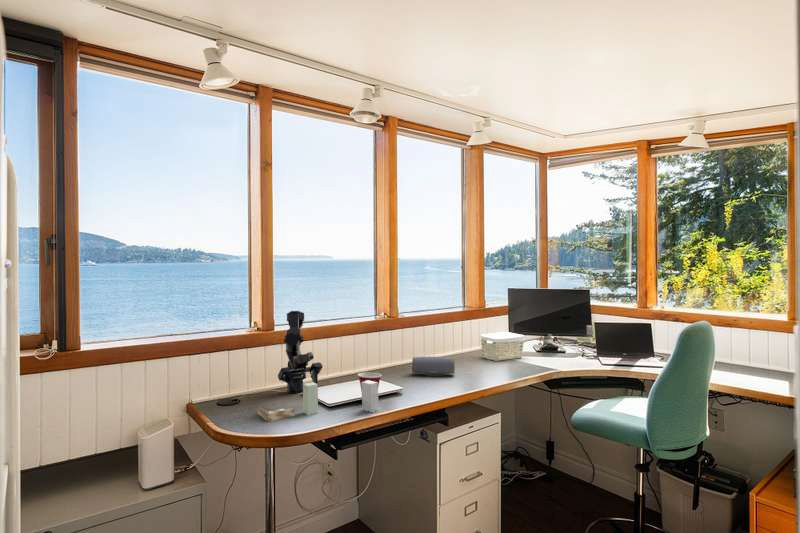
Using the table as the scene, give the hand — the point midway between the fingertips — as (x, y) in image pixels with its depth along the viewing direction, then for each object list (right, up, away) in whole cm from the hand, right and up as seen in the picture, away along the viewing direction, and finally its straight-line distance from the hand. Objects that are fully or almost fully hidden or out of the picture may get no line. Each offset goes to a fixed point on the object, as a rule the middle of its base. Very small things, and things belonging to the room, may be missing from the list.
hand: (307, 387), depth 203 cm
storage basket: (+104, -7, +104) cm, 147 cm away
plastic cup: (+25, -9, +15) cm, 31 cm away
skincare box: (+26, -10, +1) cm, 28 cm away
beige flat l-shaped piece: (-12, -10, -4) cm, 16 cm away
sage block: (+2, -10, -2) cm, 10 cm away
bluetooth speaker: (+57, -8, +61) cm, 84 cm away
